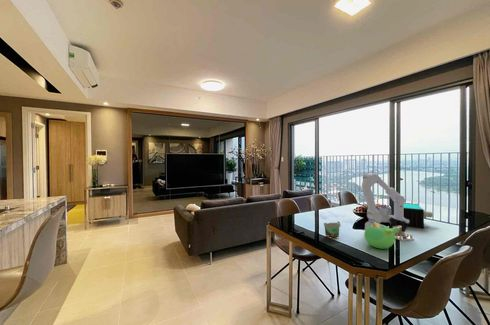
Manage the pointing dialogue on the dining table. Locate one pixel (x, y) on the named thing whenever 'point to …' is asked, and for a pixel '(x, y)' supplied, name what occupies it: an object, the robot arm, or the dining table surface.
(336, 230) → the food container
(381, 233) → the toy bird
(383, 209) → the ink cartridge box
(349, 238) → the dining table surface
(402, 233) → the birch block
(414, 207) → the electronic device
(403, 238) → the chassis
